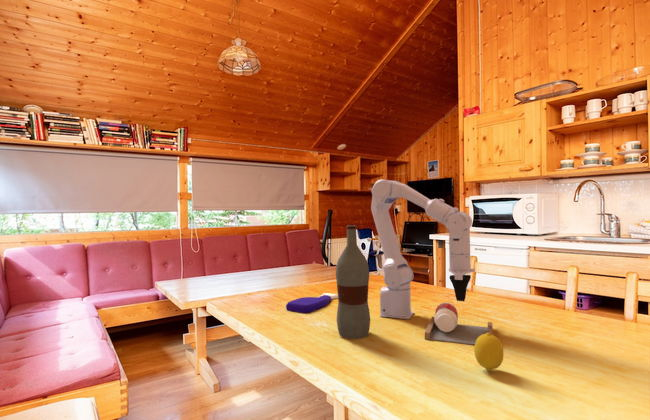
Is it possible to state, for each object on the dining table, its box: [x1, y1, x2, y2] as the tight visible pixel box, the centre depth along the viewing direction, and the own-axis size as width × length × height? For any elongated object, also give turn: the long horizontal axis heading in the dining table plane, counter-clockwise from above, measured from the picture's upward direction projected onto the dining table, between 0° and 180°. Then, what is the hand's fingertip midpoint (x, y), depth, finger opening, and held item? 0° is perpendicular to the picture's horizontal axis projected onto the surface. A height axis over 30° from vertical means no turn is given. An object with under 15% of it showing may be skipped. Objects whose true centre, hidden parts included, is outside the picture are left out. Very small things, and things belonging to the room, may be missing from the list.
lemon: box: [473, 333, 504, 372], centre depth 76 cm, size 6×6×8 cm
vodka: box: [335, 224, 371, 340], centre depth 101 cm, size 9×9×30 cm
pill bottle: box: [433, 302, 459, 332], centre depth 102 cm, size 6×6×11 cm
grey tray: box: [424, 316, 494, 346], centre depth 99 cm, size 16×15×2 cm
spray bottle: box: [285, 292, 338, 314], centre depth 134 cm, size 3×11×24 cm
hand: (460, 300), depth 105 cm, fingers closed
